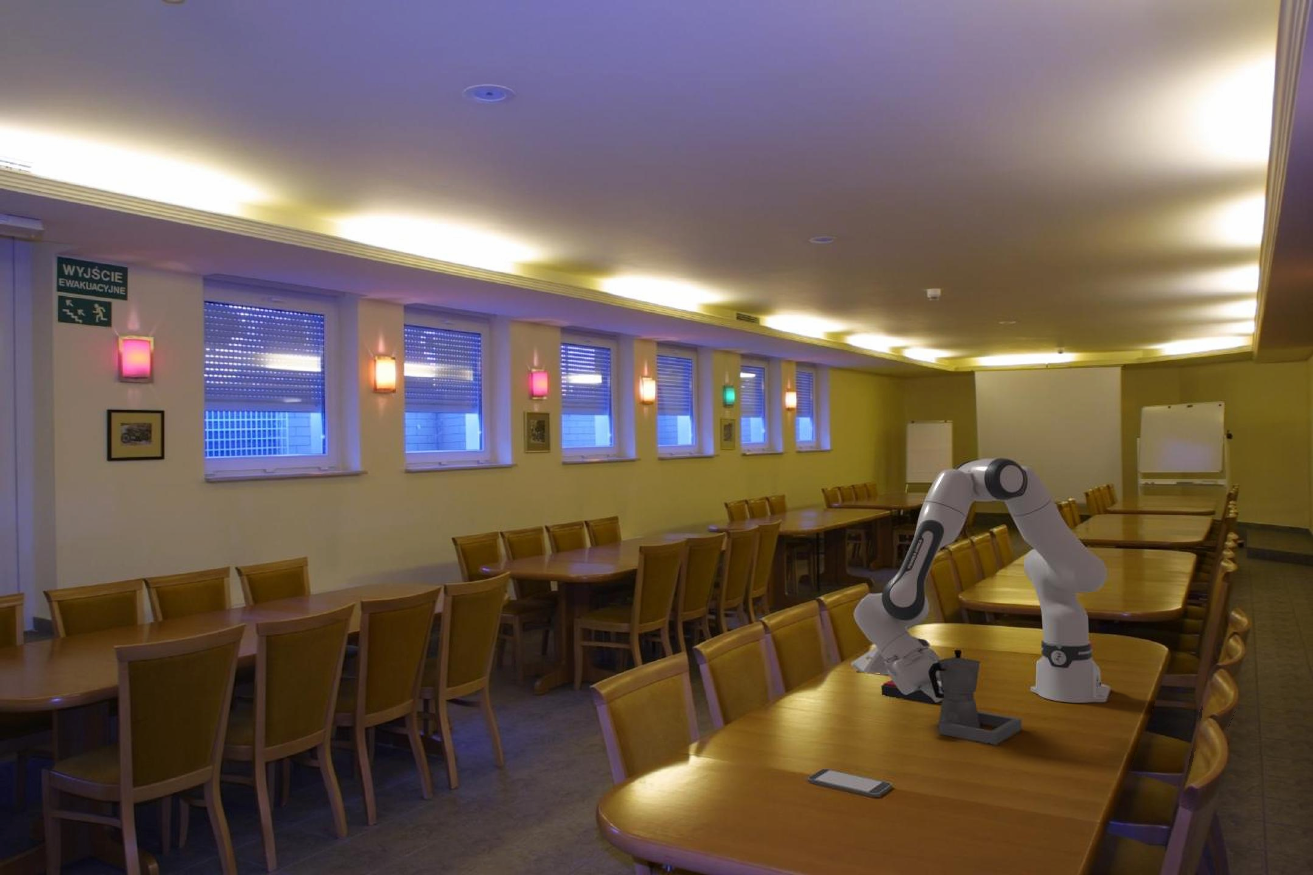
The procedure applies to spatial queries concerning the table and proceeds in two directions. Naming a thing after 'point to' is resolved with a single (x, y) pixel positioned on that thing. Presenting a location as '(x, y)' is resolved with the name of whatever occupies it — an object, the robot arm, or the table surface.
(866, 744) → the table surface
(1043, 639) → the robot arm
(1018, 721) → the dock
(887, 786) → the smartphone
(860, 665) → the tablet stand
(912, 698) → the calculator
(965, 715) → the coffeepot
